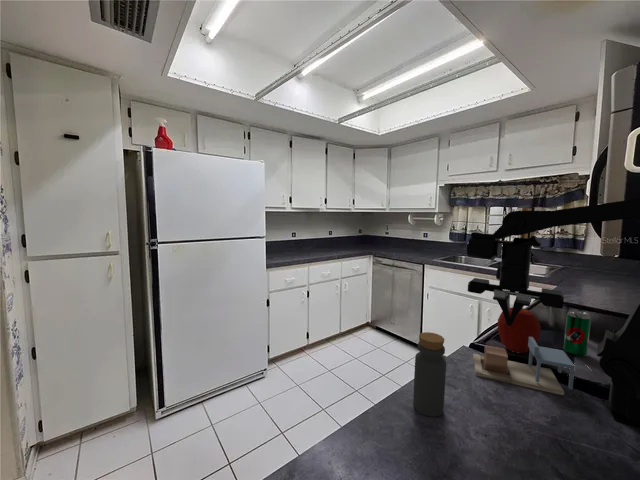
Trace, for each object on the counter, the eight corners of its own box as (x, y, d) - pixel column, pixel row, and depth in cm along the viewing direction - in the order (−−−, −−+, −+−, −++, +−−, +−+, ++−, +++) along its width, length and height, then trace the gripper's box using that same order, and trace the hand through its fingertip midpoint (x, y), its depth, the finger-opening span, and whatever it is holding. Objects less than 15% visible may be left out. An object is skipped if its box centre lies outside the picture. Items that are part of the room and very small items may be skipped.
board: (563, 396, 62) (564, 391, 61) (475, 375, 69) (475, 372, 69) (550, 372, 70) (550, 368, 70) (473, 357, 78) (473, 353, 78)
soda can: (591, 358, 78) (596, 316, 77) (570, 356, 79) (574, 314, 78) (578, 349, 83) (583, 310, 81) (559, 347, 84) (563, 308, 82)
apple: (536, 364, 74) (540, 313, 73) (492, 351, 81) (496, 304, 80) (539, 350, 82) (544, 304, 81) (499, 339, 89) (502, 296, 87)
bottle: (407, 401, 59) (410, 333, 58) (429, 395, 61) (432, 329, 60) (426, 420, 54) (430, 345, 52) (450, 413, 56) (454, 341, 54)
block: (506, 376, 68) (507, 356, 68) (485, 371, 70) (486, 352, 70) (503, 367, 72) (505, 348, 72) (483, 363, 74) (484, 345, 74)
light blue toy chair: (572, 389, 62) (576, 355, 61) (532, 381, 65) (535, 348, 64) (560, 371, 69) (563, 340, 68) (525, 364, 72) (528, 335, 71)
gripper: (565, 263, 68) (558, 326, 69) (478, 254, 80) (474, 308, 81) (567, 271, 59) (559, 341, 61) (469, 259, 71) (464, 319, 73)
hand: (509, 325), depth 69 cm, fingers closed
